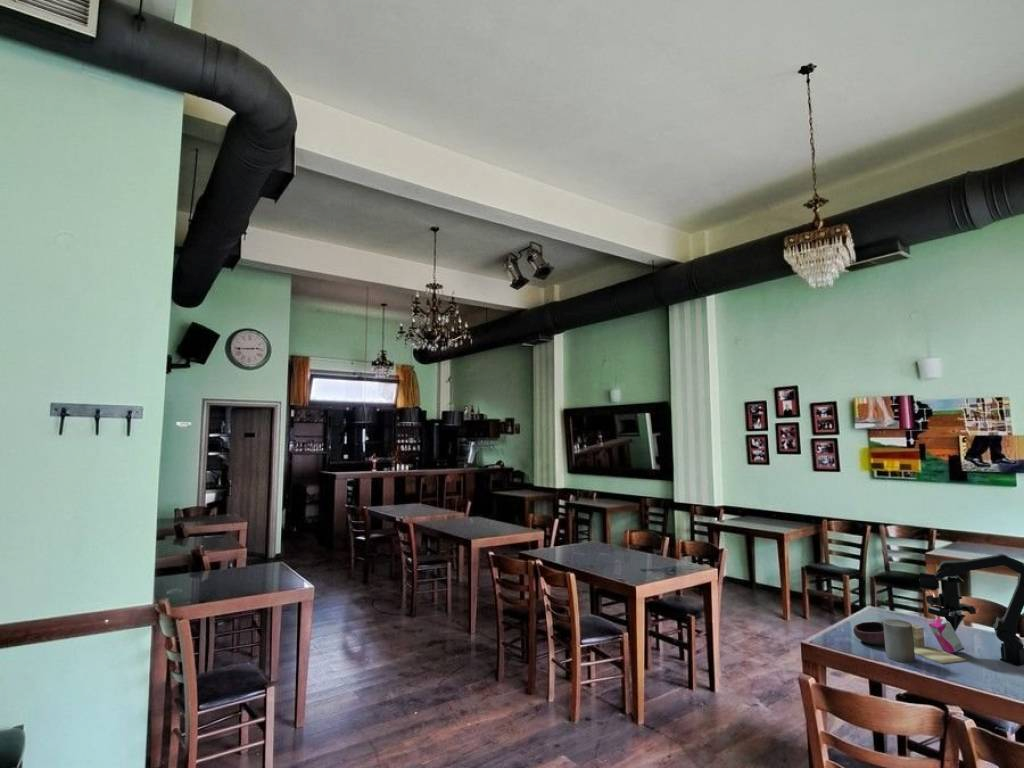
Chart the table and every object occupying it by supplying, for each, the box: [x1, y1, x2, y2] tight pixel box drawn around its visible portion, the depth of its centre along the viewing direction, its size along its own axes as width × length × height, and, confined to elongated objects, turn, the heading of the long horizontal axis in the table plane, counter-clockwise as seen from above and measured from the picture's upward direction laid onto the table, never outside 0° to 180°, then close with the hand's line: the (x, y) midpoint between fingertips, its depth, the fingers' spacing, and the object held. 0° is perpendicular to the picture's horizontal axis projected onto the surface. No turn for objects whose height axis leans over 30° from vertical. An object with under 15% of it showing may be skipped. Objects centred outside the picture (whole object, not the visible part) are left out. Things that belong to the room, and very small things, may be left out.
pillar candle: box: [882, 618, 916, 663], centre depth 220 cm, size 10×10×15 cm
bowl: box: [853, 620, 885, 646], centre depth 237 cm, size 16×13×8 cm
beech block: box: [911, 623, 926, 648], centre depth 233 cm, size 4×4×8 cm
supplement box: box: [928, 617, 965, 655], centre depth 226 cm, size 6×6×12 cm
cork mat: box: [914, 645, 968, 665], centre depth 222 cm, size 15×13×1 cm
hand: (953, 631), depth 226 cm, fingers closed
